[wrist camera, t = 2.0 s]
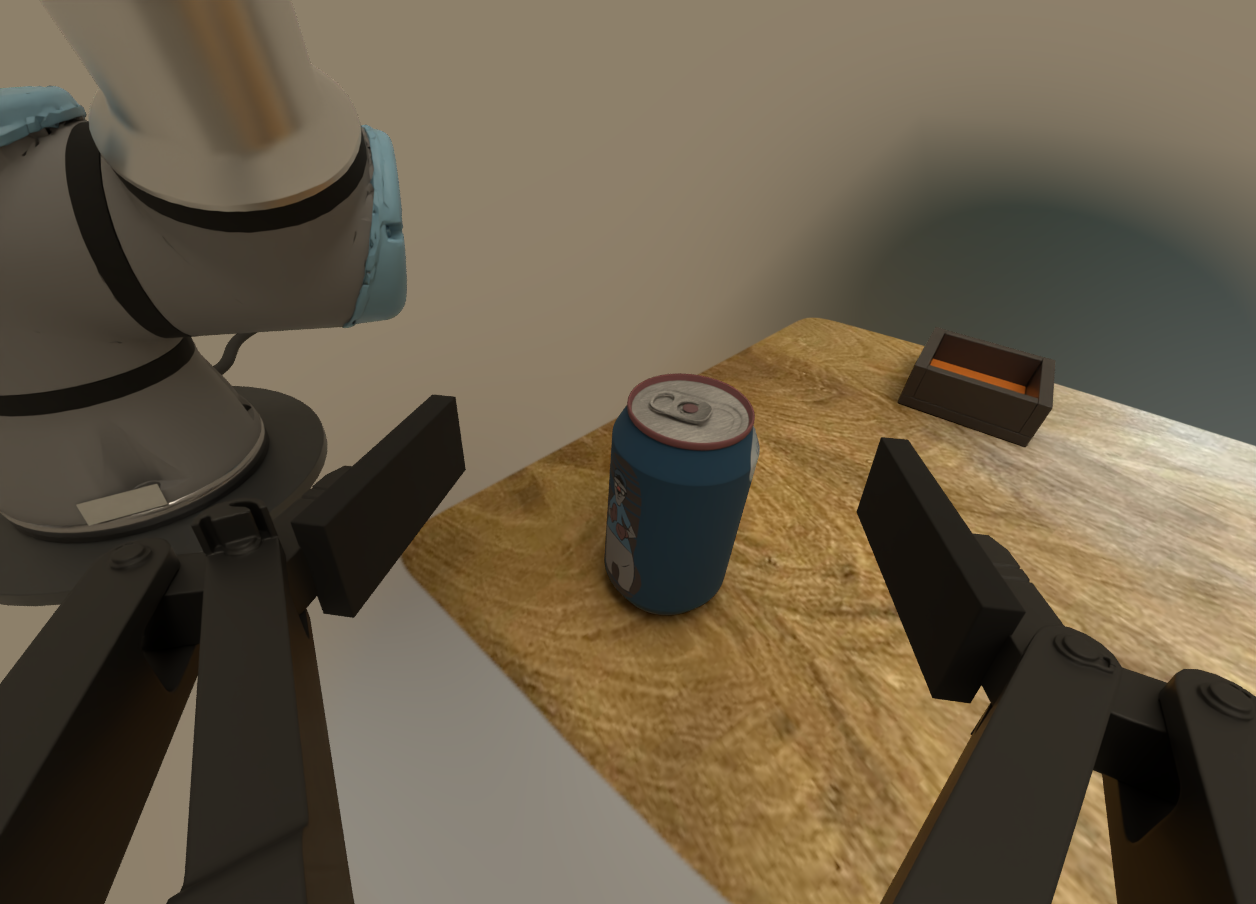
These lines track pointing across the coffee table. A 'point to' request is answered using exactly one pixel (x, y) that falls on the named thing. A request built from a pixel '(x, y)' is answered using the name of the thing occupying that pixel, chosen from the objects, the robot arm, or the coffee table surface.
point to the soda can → (677, 490)
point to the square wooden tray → (981, 386)
